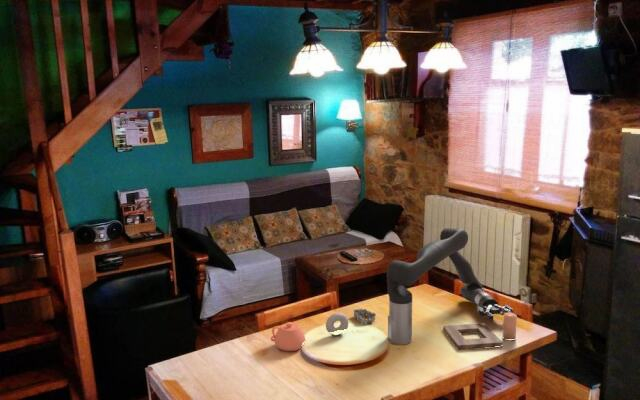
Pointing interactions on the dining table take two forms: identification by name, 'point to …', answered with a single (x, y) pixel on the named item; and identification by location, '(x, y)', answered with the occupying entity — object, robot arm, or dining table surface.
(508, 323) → the peg
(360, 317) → the egg carton
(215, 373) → the dining table surface
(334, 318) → the donut
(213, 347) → the dining table surface
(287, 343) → the sugar bowl
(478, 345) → the hole plate
